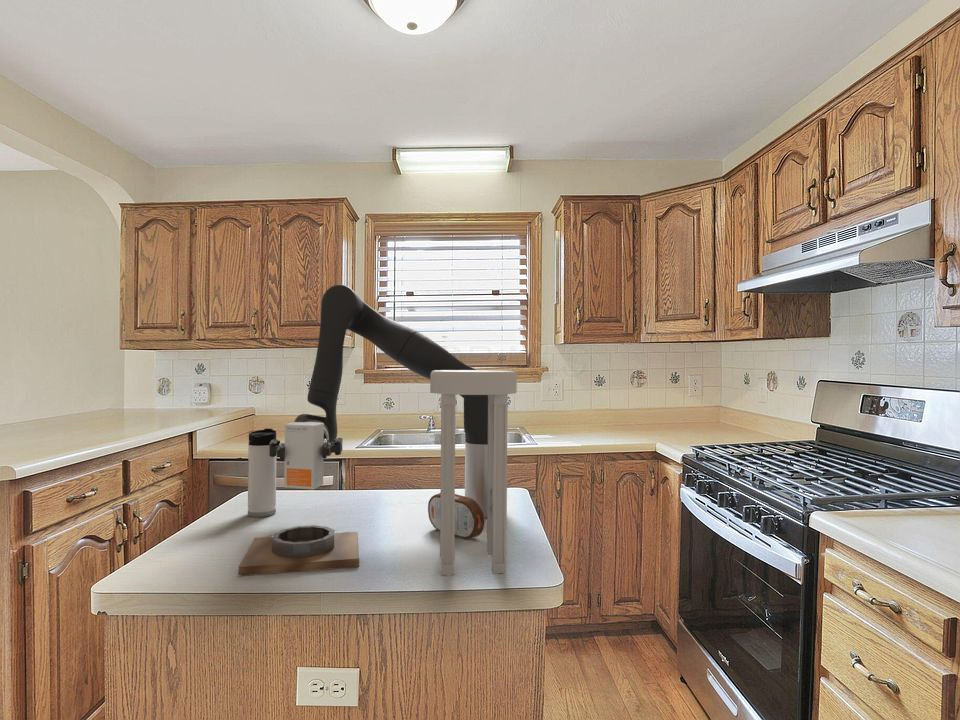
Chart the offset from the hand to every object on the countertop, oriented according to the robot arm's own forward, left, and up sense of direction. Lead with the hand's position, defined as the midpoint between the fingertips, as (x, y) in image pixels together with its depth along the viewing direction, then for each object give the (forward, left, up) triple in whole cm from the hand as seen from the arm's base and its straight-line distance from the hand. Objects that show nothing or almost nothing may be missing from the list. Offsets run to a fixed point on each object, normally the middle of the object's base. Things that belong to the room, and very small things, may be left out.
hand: (303, 453), depth 102 cm
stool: (-30, +8, -20) cm, 37 cm away
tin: (-30, -9, -20) cm, 37 cm away
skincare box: (0, -2, -7) cm, 7 cm away
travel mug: (+12, -34, -20) cm, 41 cm away
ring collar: (0, -2, -18) cm, 18 cm away
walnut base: (0, -2, -19) cm, 20 cm away
